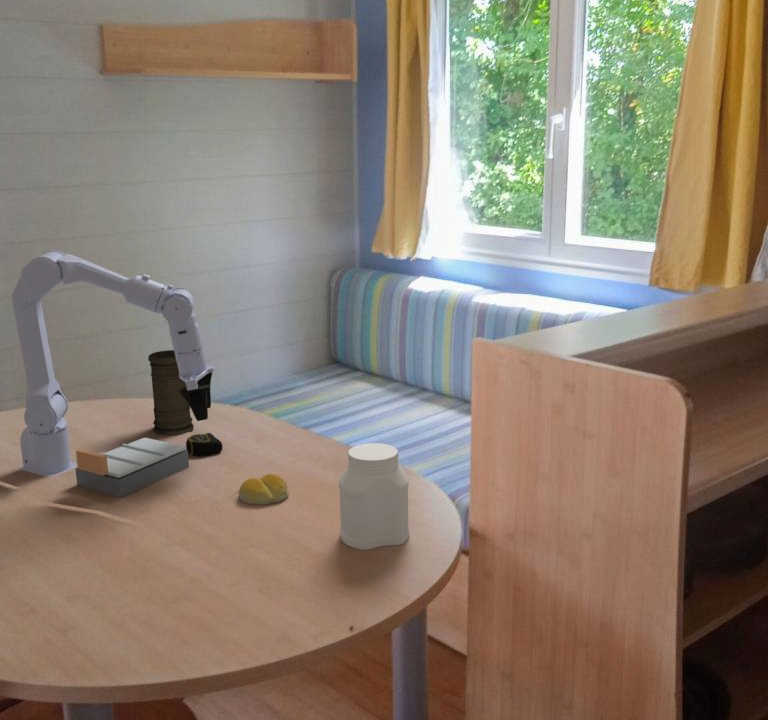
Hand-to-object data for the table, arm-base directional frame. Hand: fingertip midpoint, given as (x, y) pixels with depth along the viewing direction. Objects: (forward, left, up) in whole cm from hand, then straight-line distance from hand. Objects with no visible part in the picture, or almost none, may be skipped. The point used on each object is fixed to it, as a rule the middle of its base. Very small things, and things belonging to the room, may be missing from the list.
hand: (204, 413), depth 189 cm
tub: (-7, -14, -11) cm, 18 cm away
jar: (+48, -12, -11) cm, 51 cm away
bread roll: (+21, -8, -11) cm, 25 cm away
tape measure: (-5, +5, -11) cm, 13 cm away
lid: (-7, -15, -6) cm, 17 cm away
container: (-21, +11, -11) cm, 26 cm away
